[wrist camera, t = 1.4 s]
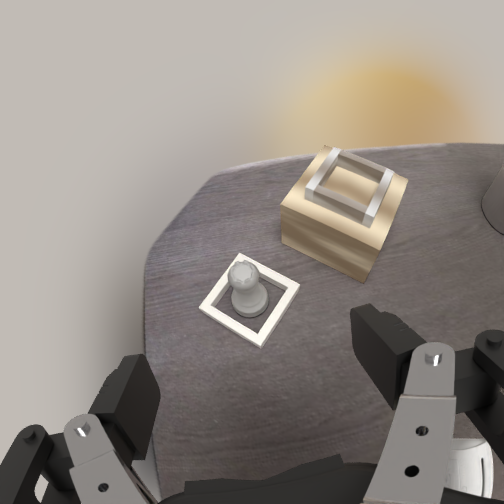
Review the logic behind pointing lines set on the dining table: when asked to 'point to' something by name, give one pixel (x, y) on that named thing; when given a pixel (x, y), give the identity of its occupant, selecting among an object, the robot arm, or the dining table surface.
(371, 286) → the dining table surface
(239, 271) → the rook chess piece
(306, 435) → the dining table surface
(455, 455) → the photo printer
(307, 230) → the birch stand
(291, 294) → the low collar
